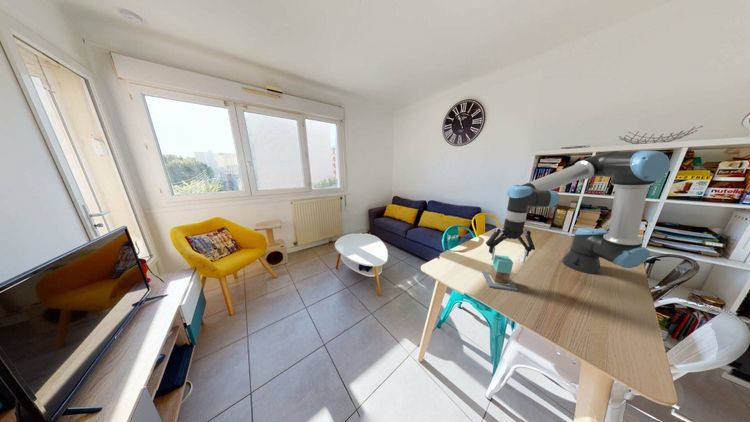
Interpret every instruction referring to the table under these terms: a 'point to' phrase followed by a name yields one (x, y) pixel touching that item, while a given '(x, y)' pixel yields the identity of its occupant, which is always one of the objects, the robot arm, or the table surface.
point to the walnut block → (499, 276)
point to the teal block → (502, 264)
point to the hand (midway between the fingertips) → (506, 260)
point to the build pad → (499, 285)
